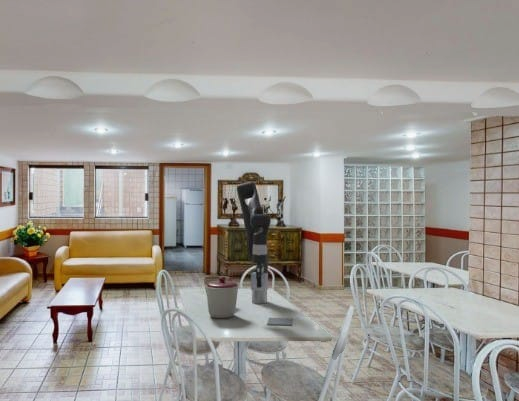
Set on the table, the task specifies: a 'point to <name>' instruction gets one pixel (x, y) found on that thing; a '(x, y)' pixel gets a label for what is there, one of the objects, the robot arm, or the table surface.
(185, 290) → the table surface
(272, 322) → the rubber mat
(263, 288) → the medicine box
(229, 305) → the canister
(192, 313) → the table surface
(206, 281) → the plant pot
